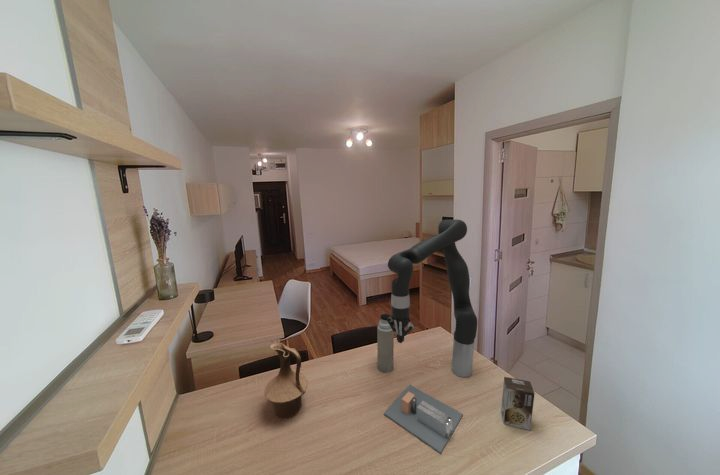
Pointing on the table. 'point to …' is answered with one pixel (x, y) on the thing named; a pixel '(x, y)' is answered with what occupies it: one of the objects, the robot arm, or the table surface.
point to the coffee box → (517, 403)
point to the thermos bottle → (385, 345)
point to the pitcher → (286, 384)
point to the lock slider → (407, 403)
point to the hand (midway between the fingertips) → (400, 341)
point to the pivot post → (414, 405)
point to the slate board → (416, 426)
